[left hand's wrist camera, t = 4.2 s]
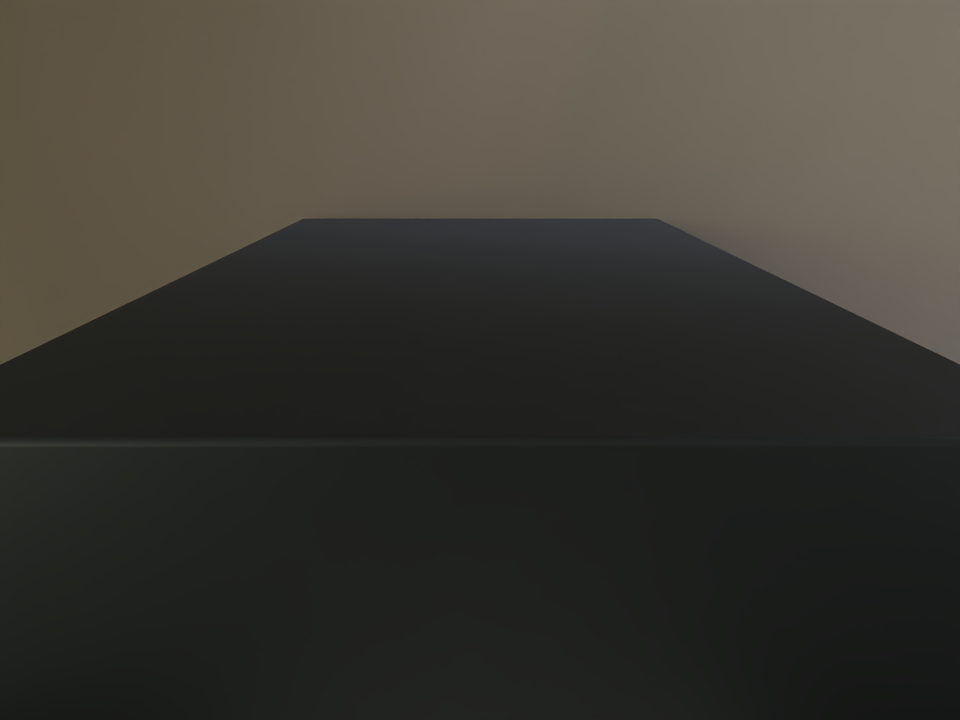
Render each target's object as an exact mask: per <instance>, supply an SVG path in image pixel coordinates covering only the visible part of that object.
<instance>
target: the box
mask: <svg viewBox="0 0 960 720" xmlns="http://www.w3.org/2000/svg"><path fill="white" fill-rule="evenodd" d="M0 720H960V365H959V364H957V363H955V362H953V361H951V360H949V359H947V358H945V357H943V356H941V355H939V354H937V353H935V352H932V351H930V350H928V349H926V348H924V347H922V346H920V345H918V344H916V343H914V342H912V341H910V340H908V339H905V338H903V337H901V336H899V335H897V334H895V333H893V332H891V331H889V330H887V329H885V328H883V327H881V326H878V325H876V324H874V323H872V322H870V321H868V320H866V319H864V318H862V317H860V316H858V315H856V314H854V313H851V312H849V311H847V310H845V309H843V308H841V307H839V306H837V305H835V304H833V303H831V302H829V301H827V300H824V299H822V298H820V297H818V296H816V295H814V294H812V293H810V292H808V291H806V290H804V289H802V288H800V287H797V286H795V285H793V284H791V283H789V282H787V281H785V280H783V279H781V278H779V277H777V276H775V275H773V274H770V273H768V272H766V271H764V270H762V269H760V268H758V267H756V266H754V265H752V264H750V263H748V262H746V261H743V260H741V259H739V258H737V257H735V256H733V255H731V254H729V253H727V252H725V251H723V250H721V249H719V248H717V247H714V246H712V245H710V244H708V243H706V242H704V241H702V240H700V239H698V238H696V237H694V236H692V235H690V234H687V233H685V232H683V231H681V230H679V229H677V228H675V227H673V226H671V225H669V224H667V223H665V222H663V221H660V220H658V219H302V220H300V221H298V222H296V223H294V224H292V225H290V226H288V227H285V228H283V229H281V230H279V231H277V232H275V233H273V234H271V235H269V236H267V237H265V238H263V239H261V240H258V241H256V242H254V243H252V244H250V245H248V246H246V247H244V248H242V249H240V250H238V251H236V252H234V253H231V254H229V255H227V256H225V257H223V258H221V259H219V260H217V261H215V262H213V263H211V264H209V265H207V266H205V267H202V268H200V269H198V270H196V271H194V272H192V273H190V274H188V275H186V276H184V277H182V278H180V279H178V280H175V281H173V282H171V283H169V284H167V285H165V286H163V287H161V288H159V289H157V290H155V291H153V292H151V293H148V294H146V295H144V296H142V297H140V298H138V299H136V300H134V301H132V302H130V303H128V304H126V305H124V306H121V307H119V308H117V309H115V310H113V311H111V312H109V313H107V314H105V315H103V316H101V317H99V318H97V319H95V320H92V321H90V322H88V323H86V324H84V325H82V326H80V327H78V328H76V329H74V330H72V331H70V332H68V333H65V334H63V335H61V336H59V337H57V338H55V339H53V340H51V341H49V342H47V343H45V344H43V345H41V346H38V347H36V348H34V349H32V350H30V351H28V352H26V353H24V354H22V355H20V356H18V357H16V358H14V359H11V360H9V361H7V362H5V363H3V364H1V365H0Z"/></svg>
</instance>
